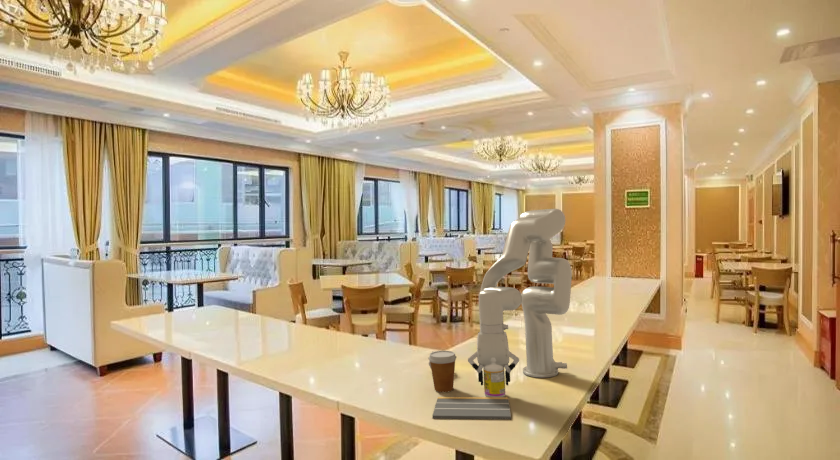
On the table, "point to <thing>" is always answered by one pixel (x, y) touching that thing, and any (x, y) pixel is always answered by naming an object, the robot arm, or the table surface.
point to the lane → (472, 408)
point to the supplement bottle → (494, 380)
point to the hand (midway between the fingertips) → (494, 383)
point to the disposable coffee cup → (443, 370)
